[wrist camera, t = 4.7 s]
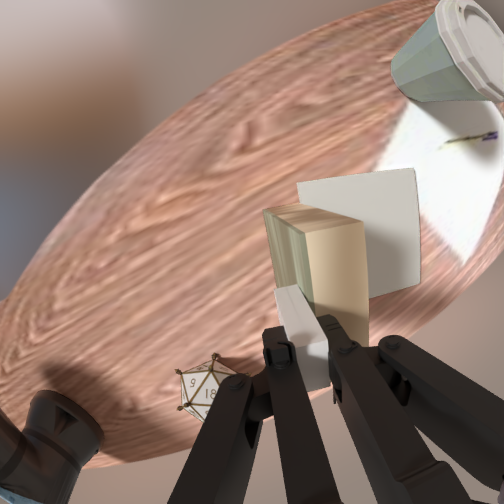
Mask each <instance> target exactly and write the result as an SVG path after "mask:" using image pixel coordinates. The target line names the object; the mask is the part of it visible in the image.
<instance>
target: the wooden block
mask: <svg viewBox="0 0 504 504" xmlns="http://www.w3.org/2000/svg"><path fill="white" fill-rule="evenodd" d="M263 214H264V219H265V225H266V230H267V236H268V241H269V246H270V252H271V257H272V263H273V269H274V274H275V280H276V286H277V288H281V287H286V286H291V285H296V284H297V285H298V286H299V288H300V290H301V292H302V294H303V295H304V297H305V299H306V301H307V303H308V305H309V306H310V308H311V310H312V312H313V314H314V315H315V317H319V316H323V315H327V314H330V315H332V316H334V317H336V319H337V320H338V322H339V323H340V325H341V326H342V327H343V329H344V330H345V332H346V333H347V335H348V336H349V338H350V339H351V340H354V341H357V342H358V343H359V344H360V345H361V346H362V347H369V293H368V271H367V255H366V242H365V232H364V222H363V221H361V220H357V219H354V218H351V217H347V216H344V215H340V214H337V213H333V212H330V211H326V210H323V209H319V208H315V207H312V206H308V205H304V204H300V203H294V204H289V205H284V206H278V207H273V208H268V209H263ZM330 382H331V379H330Z"/></svg>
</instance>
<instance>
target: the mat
mask: <svg viewBox="0 0 504 504" xmlns="http://www.w3.org/2000/svg"><path fill="white" fill-rule="evenodd" d="M297 189H298V195H299V201H300V204H304V205H308V206H312V207H315V208H319V209H323V210H326V211H330V212H333V213H337V214H340V215H344V216H347V217H351V218H354V219H357V220H361V221H363V222H364V232H365V242H366V255H367V271H368V293H369V299H370V298H374V297H377V296H381V295H384V294H387V293H391V292H394V291H397V290H401V289H404V288H407V287H410V286H413V285H417V284H420V226H419V211H418V199H417V189H416V180H415V173H414V168H406V169H396V170H386V171H377V172H369V173H361V174H353V175H345V176H338V177H331V178H324V179H318V180H311V181H305V182H299V183H297Z"/></svg>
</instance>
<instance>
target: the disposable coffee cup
mask: <svg viewBox="0 0 504 504" xmlns="http://www.w3.org/2000/svg"><path fill="white" fill-rule="evenodd" d="M391 62H392V63H391V76H392V78H393V80H394V82H395V84H396V86H397V88H398V89H399V90H400V91H401V92H402V93H403V94H404V95H405V96H406V97H409V98H412V99H414V100H417V101H420V102H428V101H451V100H482V101H492V102H494V103H495V104H497V103H501V102H504V34H503V33H502V32H501V30H500V29H499V28H498V26H497V24H496V23H495V22H494V20H493V19H492V18H491V16H490V15H489V14H488V13H487V12H486V11H485V10H484V9H482V8H481V7H480V6H479V5H478V4H477V3H476V2H474V1H473V0H441V1H440V2H439V3H438V5H437V6H436V9H435V12H434V13H433V14H432V15H431V16H430V17H429V18H428V20H427V21H426V22H425V23H424V24H423V25H422V26H421V27H420V28H419V29H418V30H417V32H416V33H415V34H414V35H413V36H412V37H411V38H410V39H409V40H408V41H407V43H406V44H405V45H404V46H403V47H402V48H401V49H400V50H399V51H398V53H397V54H396V55H395V56H394V58H393V59H392V61H391Z"/></svg>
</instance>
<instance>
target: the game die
mask: <svg viewBox="0 0 504 504" xmlns="http://www.w3.org/2000/svg"><path fill="white" fill-rule="evenodd" d="M215 359H216V355H215V353H214V354H213V355H212V360H211V361H209V362H206V363H204V364H202V365H199V366H197V367H195V368H192V369H190V370H188V371H185V372H183V373H182V372H181V370H179V369H175V371H176V373H177V374H180V375H181V398H182V406H179V407H178V408H177V410H179V411H181V410H182V409H185V410H186V411H187V412H189V413H190V414H192V415H193V416H194V417H196V418H197V419H199V420H200V421H202V422H203V423H204V420H205V418H206V416H207V413H208V411H209V409H210V407H211V404H212V402H213V400H214V397H215V395H216V393H217V390H218V388H219V386H220V383H221V382H222V380H223V379H224V378H226V377H227V376H229V375H232V374H237V372H235V371H234V370H232V369H230V368H228V367H227V366H225V365H223V364H221V363H220V362H218V361H216V360H215ZM246 375H248V376H250V375H251V373H247V374H246Z"/></svg>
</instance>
